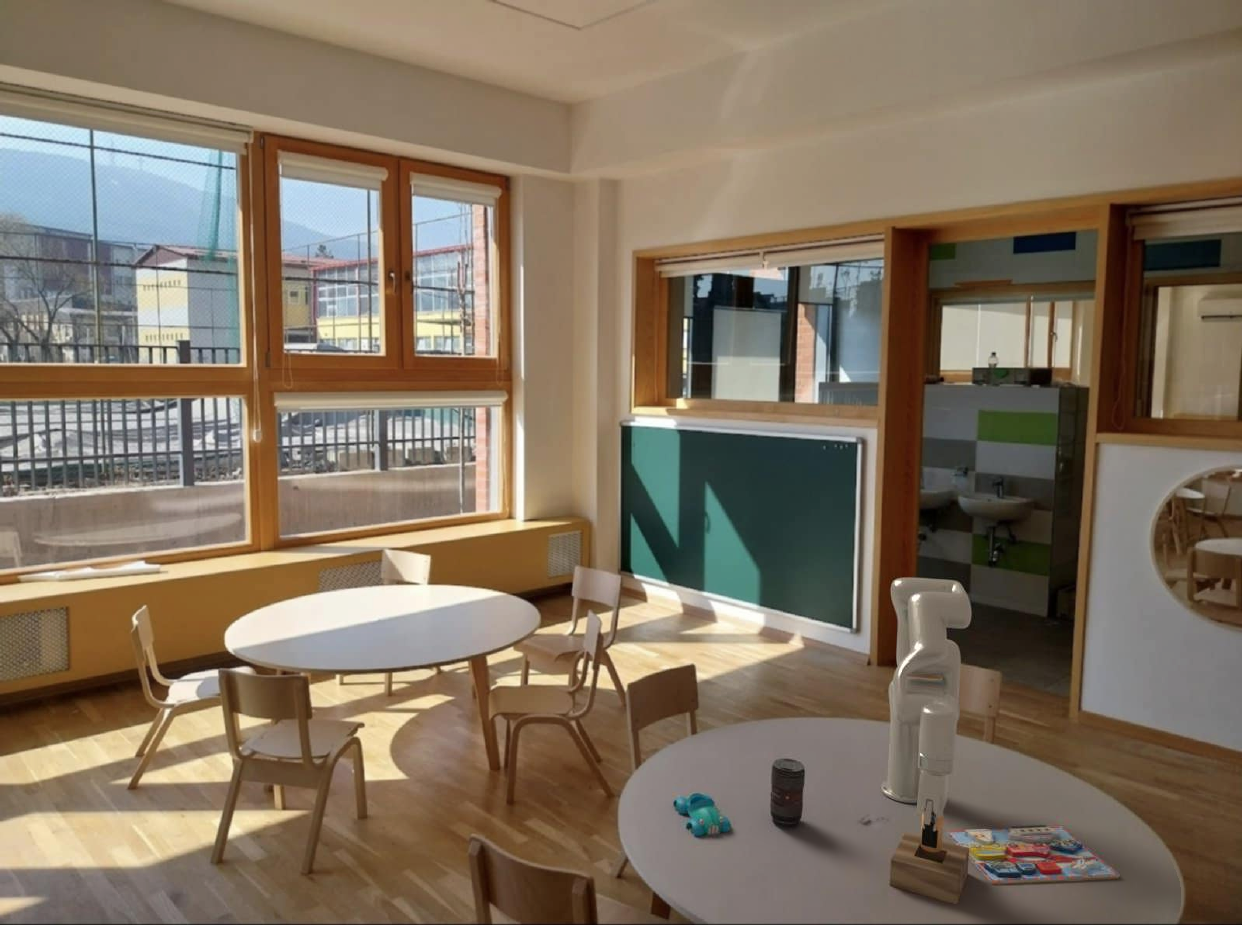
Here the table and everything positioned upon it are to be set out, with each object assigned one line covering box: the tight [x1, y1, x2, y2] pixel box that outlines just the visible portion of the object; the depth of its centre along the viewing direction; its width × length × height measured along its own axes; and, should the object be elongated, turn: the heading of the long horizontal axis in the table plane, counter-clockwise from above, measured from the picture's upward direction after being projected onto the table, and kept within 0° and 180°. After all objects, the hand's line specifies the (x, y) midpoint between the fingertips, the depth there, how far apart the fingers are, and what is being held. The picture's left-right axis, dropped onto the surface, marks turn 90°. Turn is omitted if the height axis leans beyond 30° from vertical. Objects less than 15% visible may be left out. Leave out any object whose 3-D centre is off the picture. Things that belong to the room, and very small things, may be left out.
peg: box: [920, 811, 945, 852], centre depth 204 cm, size 4×4×8 cm
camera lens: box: [769, 757, 806, 829], centre depth 229 cm, size 8×8×15 cm
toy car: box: [672, 792, 732, 837], centre depth 231 cm, size 11×18×7 cm, turn 16°
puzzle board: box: [945, 824, 1121, 885], centre depth 217 cm, size 30×23×3 cm
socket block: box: [889, 831, 970, 905], centre depth 205 cm, size 14×14×6 cm
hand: (931, 840), depth 205 cm, fingers closed on peg, 4 cm apart
